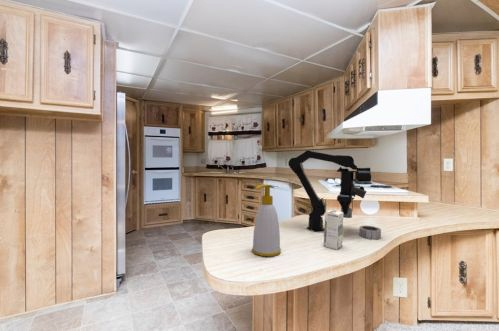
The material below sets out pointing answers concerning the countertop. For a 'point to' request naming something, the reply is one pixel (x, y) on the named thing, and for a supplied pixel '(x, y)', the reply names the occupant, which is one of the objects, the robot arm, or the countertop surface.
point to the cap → (349, 214)
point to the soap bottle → (266, 226)
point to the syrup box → (333, 229)
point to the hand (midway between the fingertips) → (346, 213)
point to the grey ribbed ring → (370, 232)
